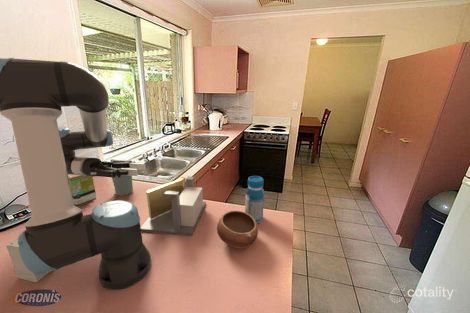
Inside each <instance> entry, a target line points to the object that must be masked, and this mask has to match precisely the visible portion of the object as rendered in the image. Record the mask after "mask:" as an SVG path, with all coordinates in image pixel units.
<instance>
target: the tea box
mask: <svg viewBox="0 0 470 313" xmlns="http://www.w3.org/2000/svg"><path fill="white" fill-rule="evenodd" d="M93 177H94V176H88V175H84V176H82V175H73V174H68V178H69V183H70V188H71V193H72V198H73V203H74V206H78V205H81V204H84V203H87V202H89V201H91V200H94V199H97V193H96V186H95V182H94V178H93Z"/></svg>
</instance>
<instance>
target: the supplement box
mask: <svg viewBox="0 0 470 313" xmlns="http://www.w3.org/2000/svg"><path fill="white" fill-rule="evenodd" d="M5 247H6V249H7V252H8V255H9V257H10V260H11V262H12V265H13V269H14V270H15V272H16V276H17V278H18V279H20V280H25V281H28V282H33V283H38V282H39V281H41V279H43V278H44V277H45V276H46V275H48V274H49V273H50V272H46V273H43V274H34V273H32V272H31V271H29V270H28V269H27V268H26V266H25V265H24V263H23V261H22V259H21V256H20V253H19V249H18V247H19V245H18V238H16V239H15V240H13V241H11V242H10V243H9V242H8V244H6V245H5Z"/></svg>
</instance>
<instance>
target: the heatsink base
mask: <svg viewBox="0 0 470 313" xmlns="http://www.w3.org/2000/svg"><path fill="white" fill-rule="evenodd" d="M185 178H186V187H185V189H184V190H183V192H182V193H181V194H180V196H179V192H176V191H166V192H165V193H164V197H165V198H171V201H172V210H170V211H168V212H166V213H164V214H162V215H159V216H157V217H155V218H153V219H150V217H149V216H148V218H147V219H146V221H145V222H144V223H143V224H142V225H140V228H141V232H144V233H145V232H147V233H157V234H172V235H183V236H193V235H194V233H195V230H196V228H197V225H198V223H199V221H200V219H201V217H202V214H203V212H204V209H205V208H206V205H207V202H206V201H204V200H203V187H198V186H197V187H196V186H195V176H187V177H185Z"/></svg>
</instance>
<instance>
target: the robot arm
mask: <svg viewBox="0 0 470 313" xmlns="http://www.w3.org/2000/svg"><path fill="white" fill-rule="evenodd" d="M109 101H110V100H109V93H108V91H107V88H106V87H105V85H104V83H103V81H101V80H100V79H99V78H98V77H97V76H96V75H95V74H94V73H92V72H91V71H90V70H89V69H86V68H85V67H83V66H81V65H78V64H76V63H73V62H69V61H54V60H41V59H28V58H27V59H26V58H25V59H24V58H23V59H22V58H15V57H9V58H8V57H7V58H0V115H1V116H2V117H4V118H6V119H7V120H9V121H10V122H11V126H12V131H13V135H14V140H15V144H16V149H17V153H18V158H19V162H20V167H21V170H22V171H21V172H22V176H23V181H24V185H25V189H26V195H27V199H28V204H29V209H30V212H31V217H30V218H29V219H28V221H26V223H25V224H24V227H25V229H24V230H22V231H21V232H20V233H19V235H18V237H17V239H18V245H19V247H18V249H19V253H20V256H21V259H22V261H23V263H24V265H25V266H26V268H27V269H28V270H29V271H31V272H32V273H34V274H43V273H46V272H49V273H50V272H52V271H58V270H60V269H61V268H64V267H67V266H71V265H73V264H76V263H78V262H82V261H85V260H87V259H90V258H93V257H96V256H99V255H100V262H99V268H98V271H97V272H98V273H97V274H98V280H99V283H100V285H101V286H102V287H103V288H104V289H108V290H113V291H115V290H116V291H117V290H123V289H126V288H130V287H131V286H133V285H135V284H137V283H138V282H140V281H141V280H142V279H144V277H145V276H146V275H147V274H148V272H149V271H150V270H151V269H150V268H151V267H152V259H151V258H152V257H151V253H150V252H149V250H148V248H147V247H146V245H145V243H144V242H143V235H142V231H141V223H140V222H141V217H140V215H139V214H140V213H139V210H138V207H137V206H136V205H135V204H134V203H133V202H130V201H127V200H110V201H105V202H103V203H100V204H99V205H96V206H94V208H93V209H92V211H91V212H90V213H89V214H86V215H83V214H84V212H83V210H82V209H81V208H80V207H78V206H77V205H75V204H74V203H73V198H72V193H71V188H70V183H69V178H68V174H73V175H82V176H84V175H88V176H93V177H103V178H112V177H113V178H115V177H116V176H118V178H119V177H121V175H127V176H132V177H138V176H139V173H138V172H139V171H143V170H144V171H145V170H146V163H142V162H133V160H130V159H129V160H127V159H126V160H123V159H110V161H107V160H106V161H105V160H104V161H103V160H102V161H101V159H100V158H98V157H88V156H87V157H86V156H85V157H84V156H76V151H79V150H85V149H88V150H89V149H97V148H106V147H109V146H112V145H113V144H114V138H113V134H112V131H111V130H110V129H108V126H107V112H106V111H107V110H106V109H107V108H108V106H109ZM62 107H76V108H77V109H78V111H79V113H80V118H81V121H82V125H83V126H82V127H83V130H84V131H71V129H70V128H69V127H59V125H58V119H59V118H60V117H61V116H62V114H63V110H62ZM138 170H139V171H138ZM111 174H112V175H111Z"/></svg>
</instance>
